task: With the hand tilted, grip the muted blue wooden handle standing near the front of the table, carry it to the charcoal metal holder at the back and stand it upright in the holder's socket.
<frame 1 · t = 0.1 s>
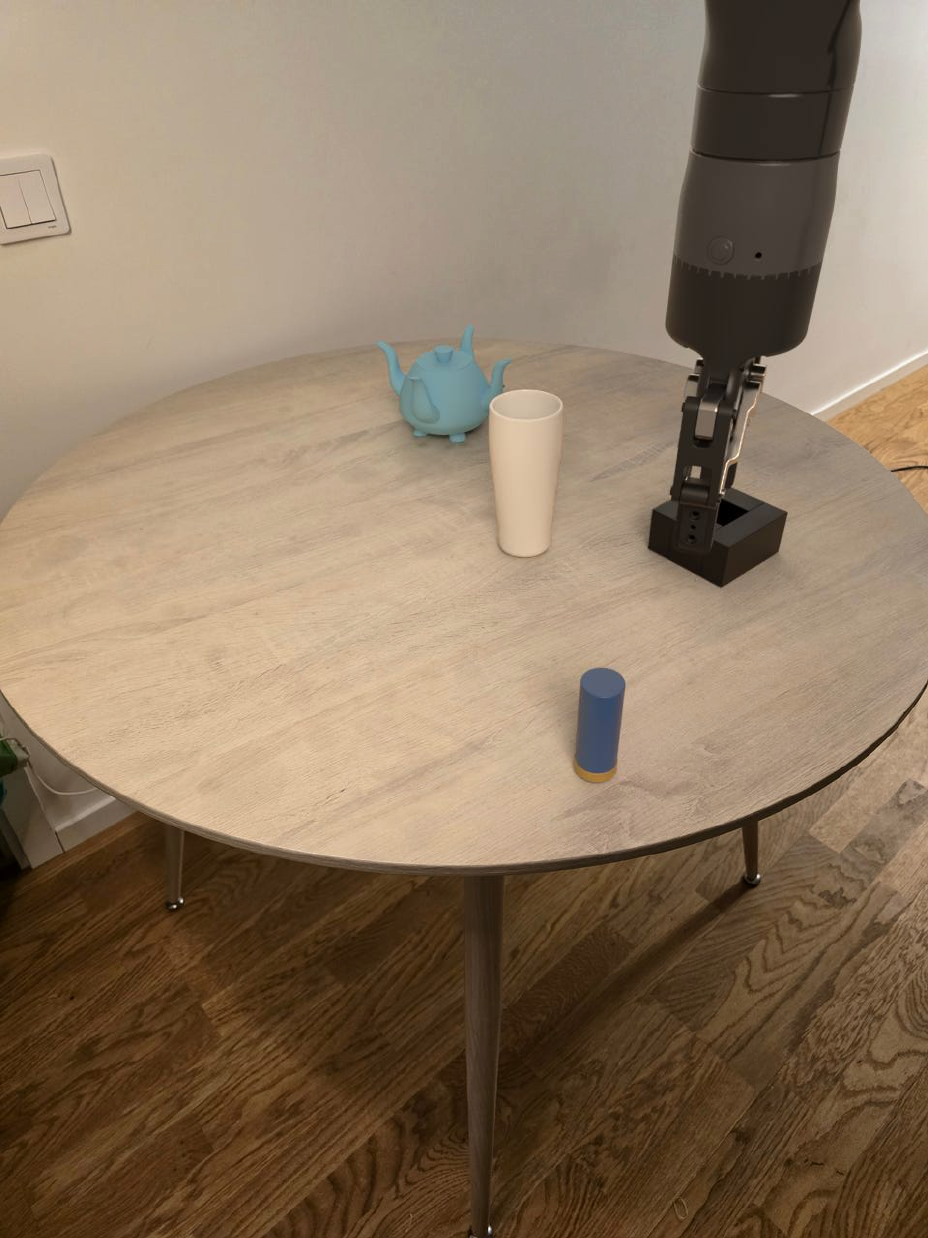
hand: (704, 515, 55), 19 cm above the table, tool pointing down, fingers open, 8 cm apart
handle: (594, 767, 63), on the table
teapot: (447, 427, 108), on the table
drinking glass: (524, 546, 86), on the table
holder: (712, 550, 84), on the table
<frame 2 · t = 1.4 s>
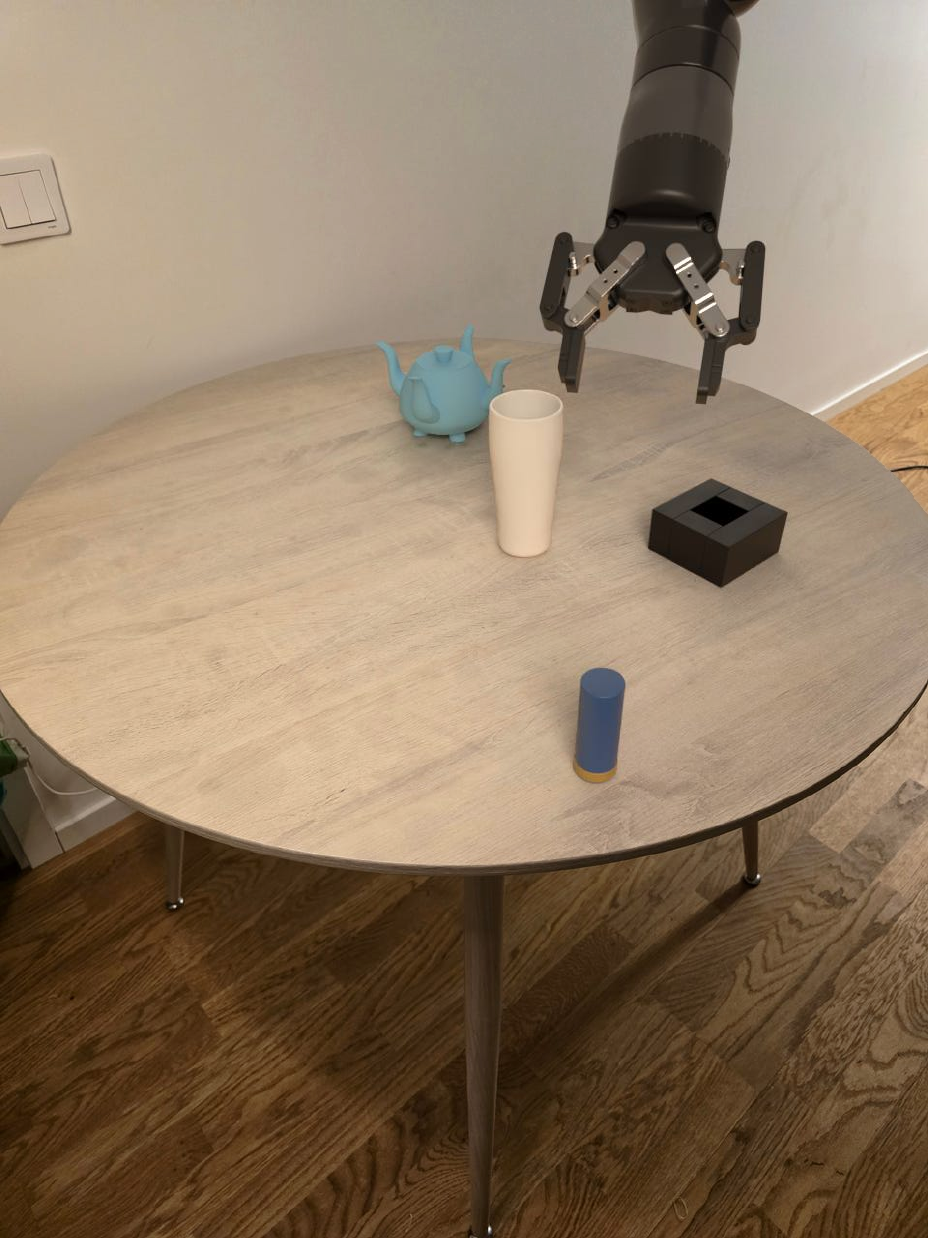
hand: (635, 394, 57), 24 cm above the table, tool tilted 45°, fingers open, 8 cm apart
nothing on the table moved.
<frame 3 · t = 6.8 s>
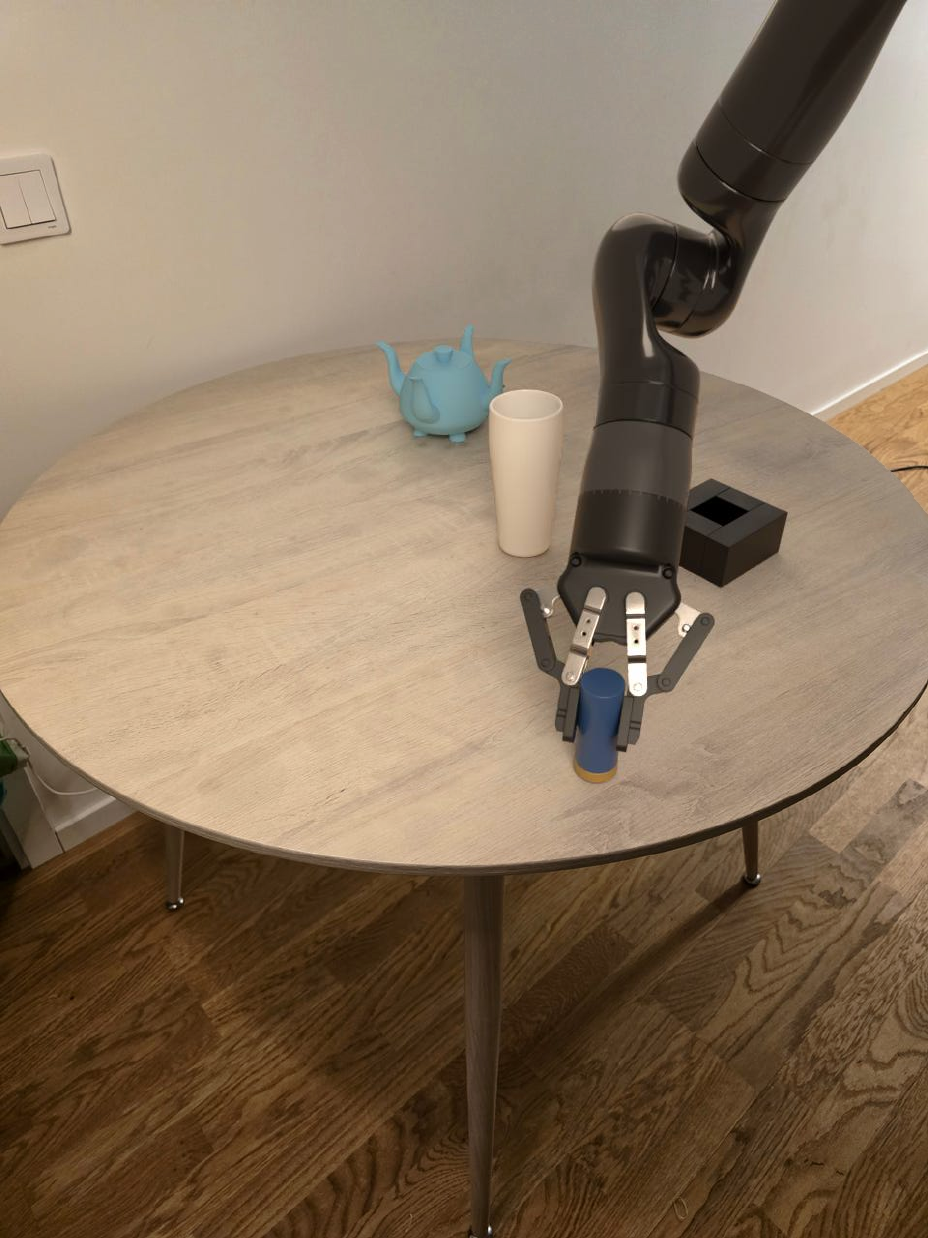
hand: (595, 745, 59), 4 cm above the table, tool tilted 45°, fingers closed on handle, 3 cm apart
handle: (595, 768, 63), on the table, touching gripper
everything else where it was.
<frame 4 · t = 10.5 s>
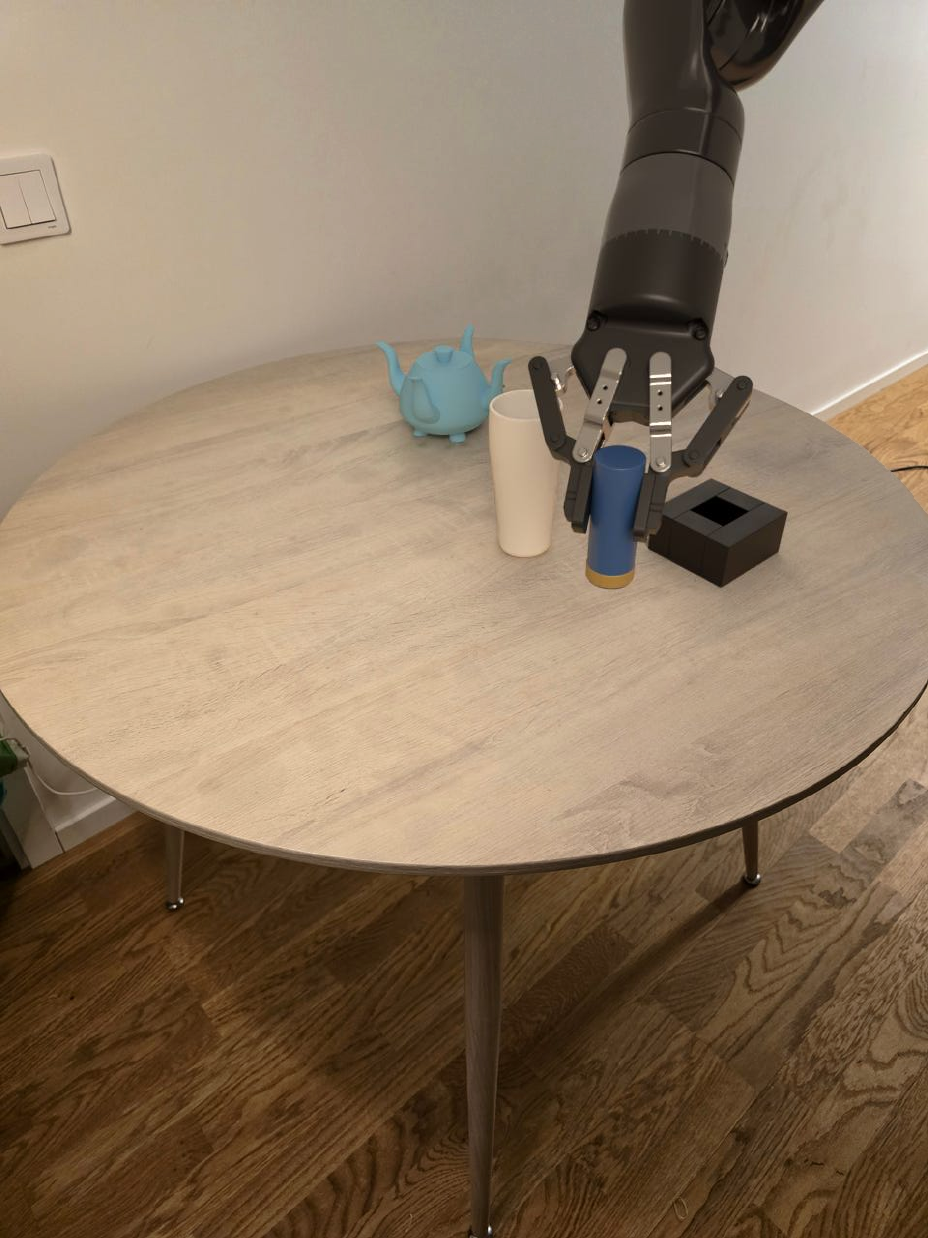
hand: (609, 533, 51), 20 cm above the table, tool tilted 45°, fingers closed on handle, 3 cm apart
handle: (609, 576, 55), point 16 cm above the table, touching gripper
everything else where it was.
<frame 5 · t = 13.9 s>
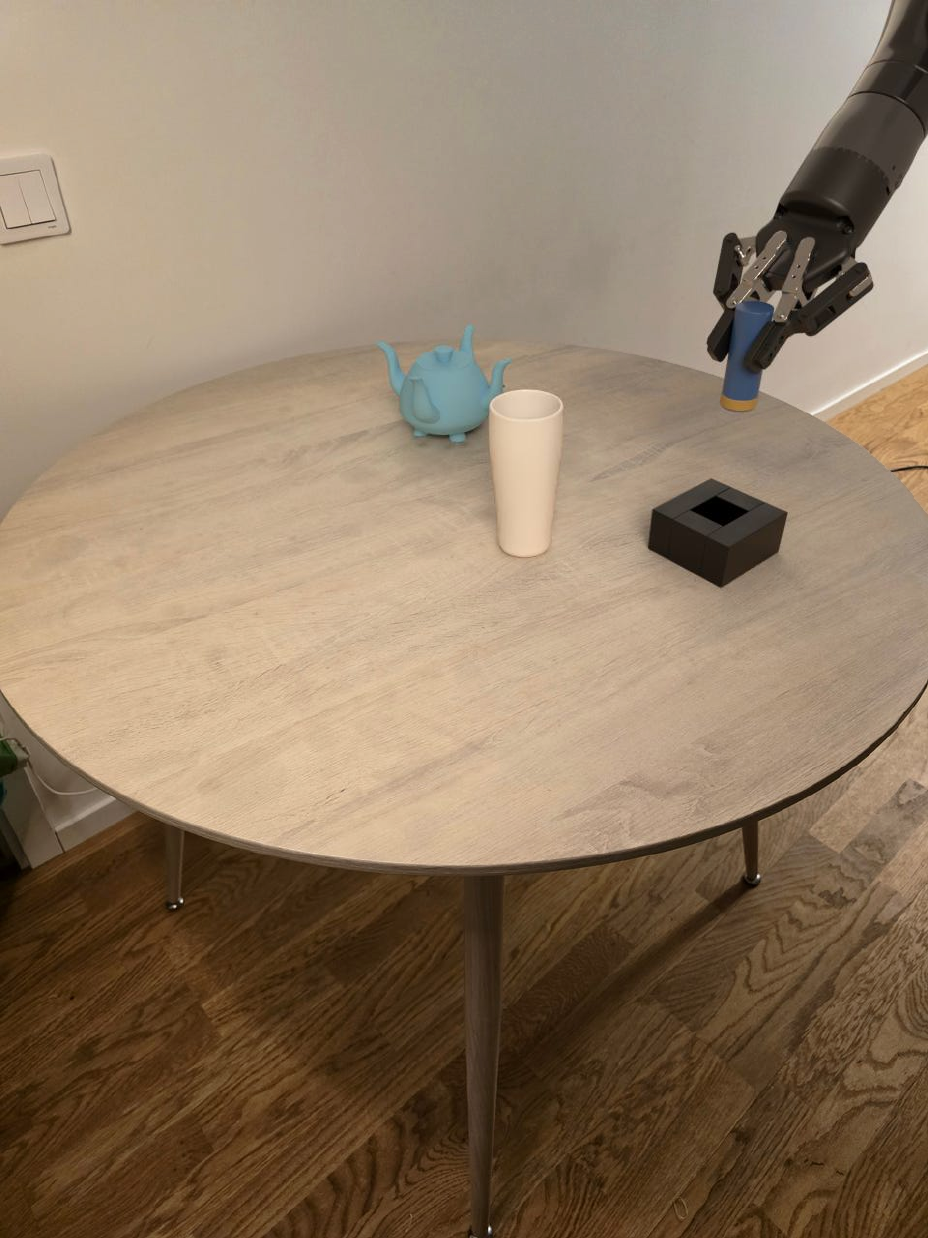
hand: (731, 361, 71), 20 cm above the table, tool tilted 45°, fingers closed on handle, 3 cm apart
handle: (737, 405, 75), point 15 cm above the table, touching gripper
everything else where it was.
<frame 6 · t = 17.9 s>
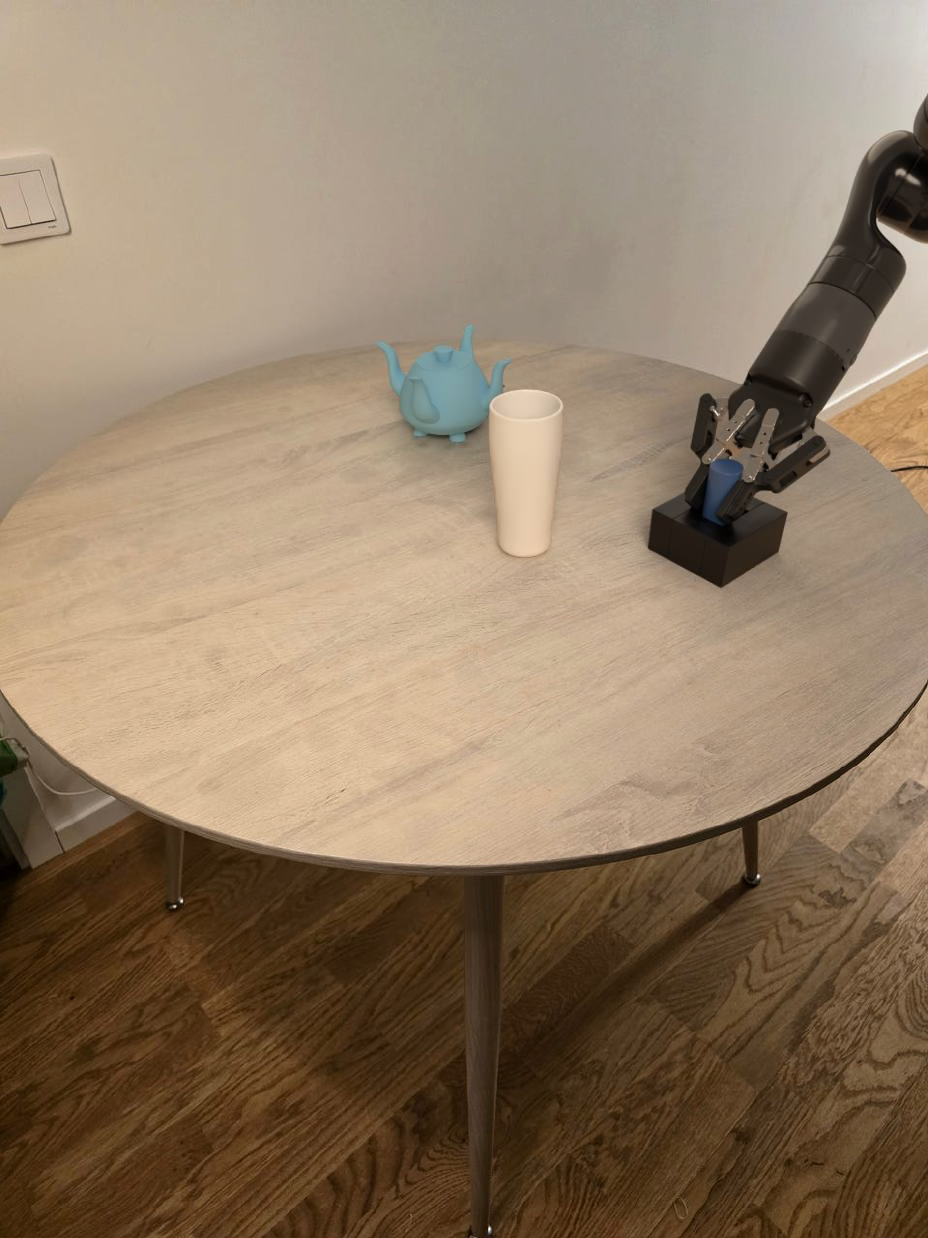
hand: (706, 511, 80), 5 cm above the table, tool tilted 45°, fingers closed on handle, 3 cm apart
handle: (713, 543, 84), point 1 cm above the table, touching gripper
everything else where it was.
when the fingers open (5 cm above the table, at t = 21.3 s): handle drops 1 cm, resting in holder.
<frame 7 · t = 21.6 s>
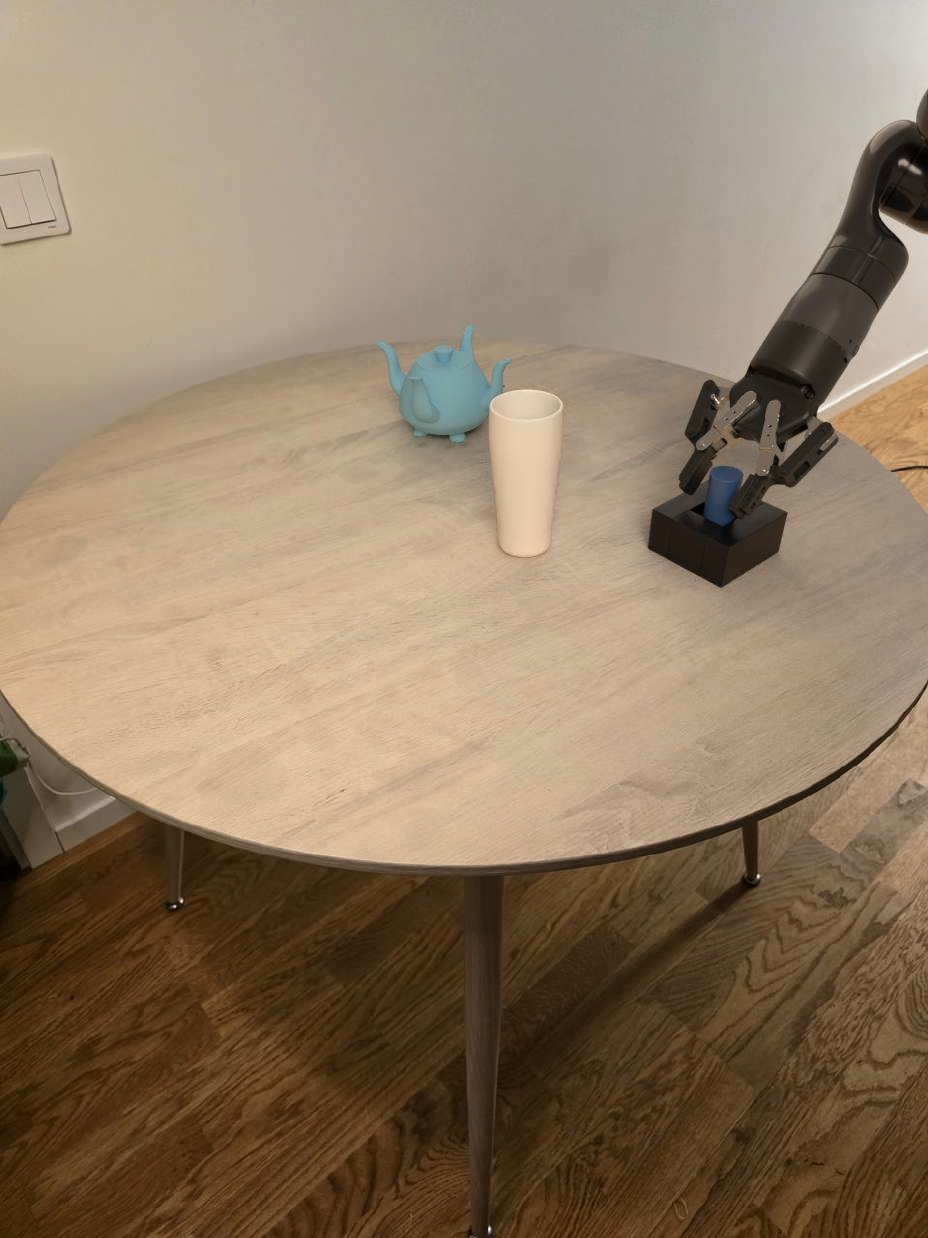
hand: (709, 502, 80), 6 cm above the table, tool tilted 45°, fingers open, 5 cm apart
handle: (713, 550, 84), resting in holder
everything else where it was.
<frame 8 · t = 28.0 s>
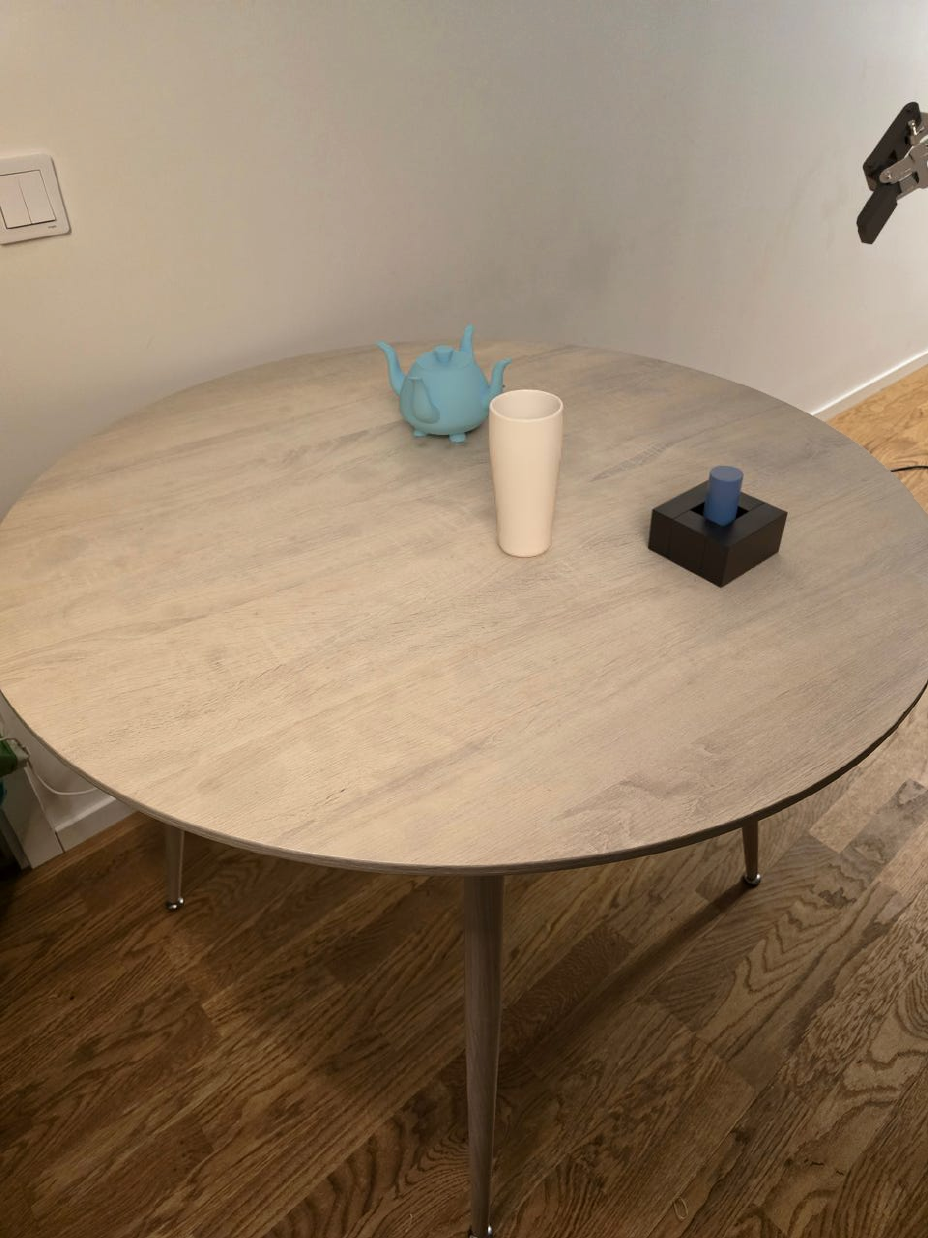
hand: (916, 248, 64), 29 cm above the table, tool tilted 45°, fingers open, 8 cm apart
nothing on the table moved.
at the end: handle 0.0 cm off-centre in the holder, point 0.0 cm above the holder's base; handle tilted 0°; the gripper is holding nothing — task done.
